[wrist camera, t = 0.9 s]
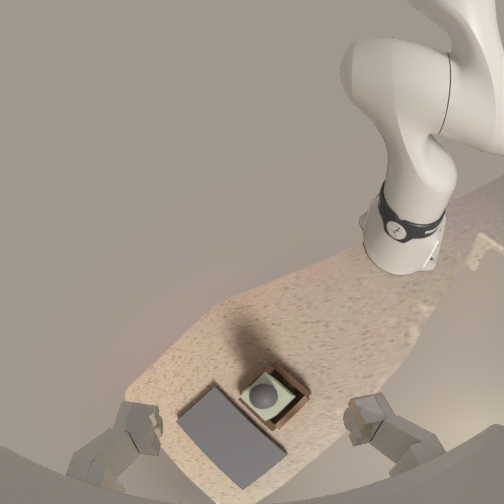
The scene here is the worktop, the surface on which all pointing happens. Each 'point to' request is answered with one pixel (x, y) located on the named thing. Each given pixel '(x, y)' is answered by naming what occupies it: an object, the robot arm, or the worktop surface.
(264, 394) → the spice grinder
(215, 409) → the slate board
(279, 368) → the walnut pocket
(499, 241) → the worktop surface
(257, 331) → the worktop surface
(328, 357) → the worktop surface
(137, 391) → the worktop surface
